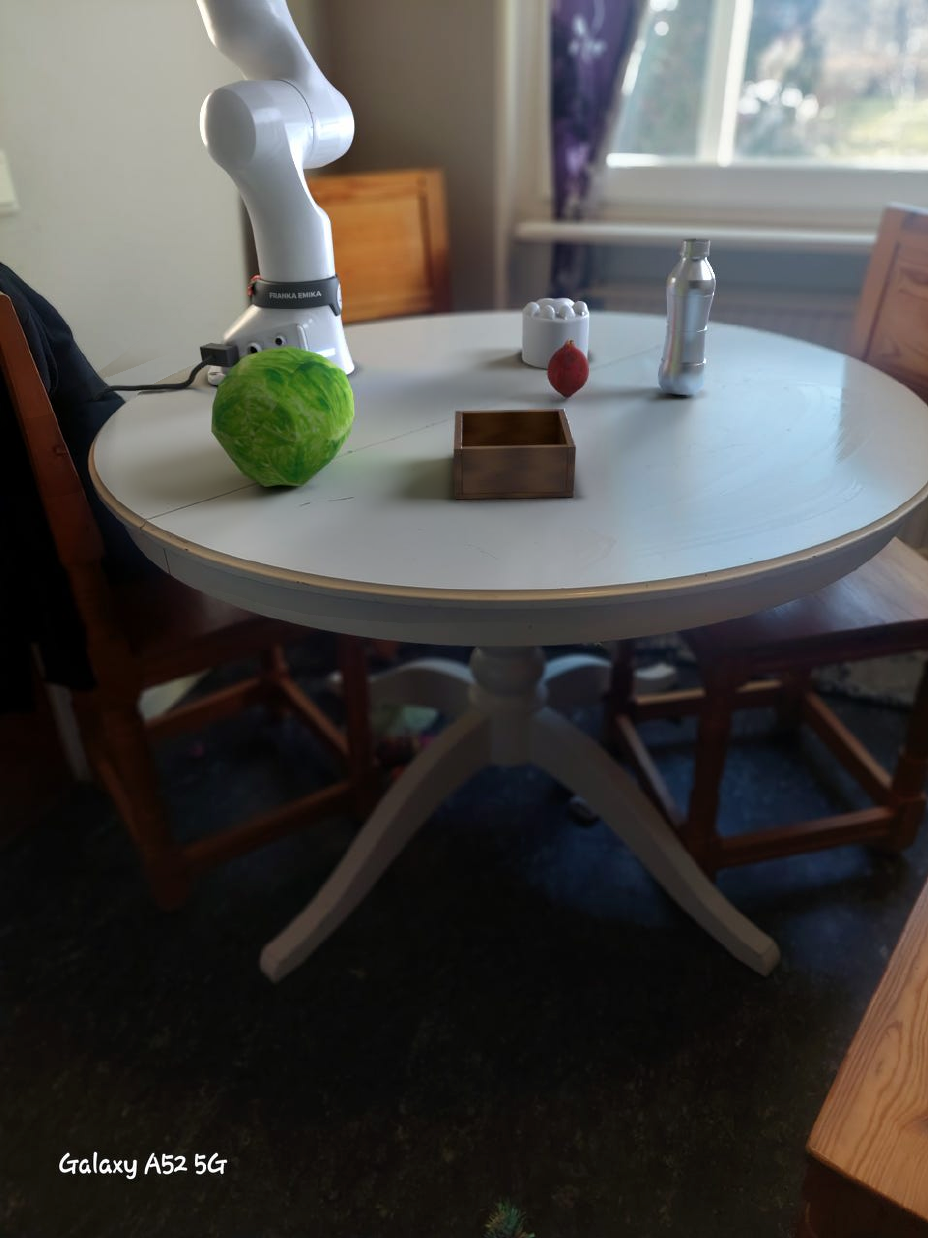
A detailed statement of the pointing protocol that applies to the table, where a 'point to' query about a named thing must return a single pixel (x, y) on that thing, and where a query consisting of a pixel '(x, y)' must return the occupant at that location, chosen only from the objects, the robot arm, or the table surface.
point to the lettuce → (283, 415)
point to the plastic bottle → (687, 319)
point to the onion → (568, 369)
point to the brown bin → (513, 454)
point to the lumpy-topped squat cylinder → (553, 329)
